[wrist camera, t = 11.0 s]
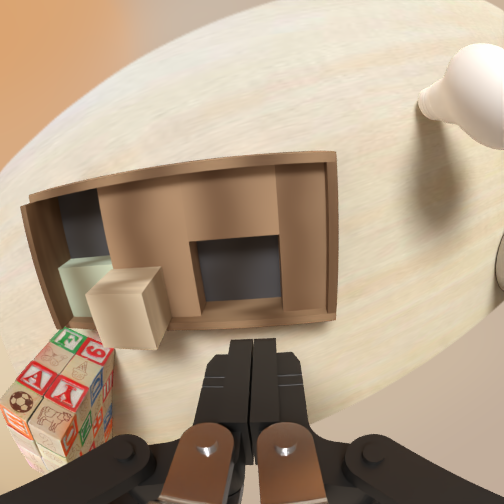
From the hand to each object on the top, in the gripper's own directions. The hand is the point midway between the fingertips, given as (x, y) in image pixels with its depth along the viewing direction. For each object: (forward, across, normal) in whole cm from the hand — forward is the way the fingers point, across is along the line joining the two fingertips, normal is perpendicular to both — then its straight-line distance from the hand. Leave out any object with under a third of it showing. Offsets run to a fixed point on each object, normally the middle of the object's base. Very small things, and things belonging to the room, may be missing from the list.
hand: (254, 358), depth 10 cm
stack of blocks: (+12, +21, +18) cm, 31 cm away
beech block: (+10, +9, +2) cm, 13 cm away
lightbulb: (+13, -13, -10) cm, 21 cm away
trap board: (+12, +6, -1) cm, 14 cm away
